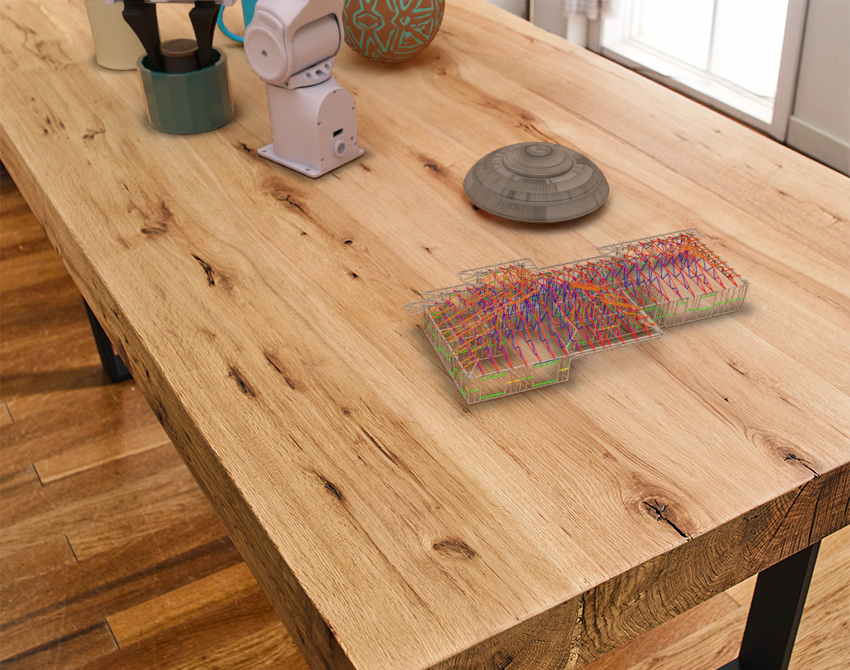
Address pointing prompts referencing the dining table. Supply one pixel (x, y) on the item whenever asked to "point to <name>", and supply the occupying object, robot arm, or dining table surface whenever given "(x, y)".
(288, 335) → the dining table surface
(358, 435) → the dining table surface
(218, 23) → the mug
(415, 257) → the dining table surface
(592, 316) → the roof frame
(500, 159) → the flying saucer
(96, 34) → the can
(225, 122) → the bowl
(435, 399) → the dining table surface
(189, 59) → the spool
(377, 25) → the decorative sphere
